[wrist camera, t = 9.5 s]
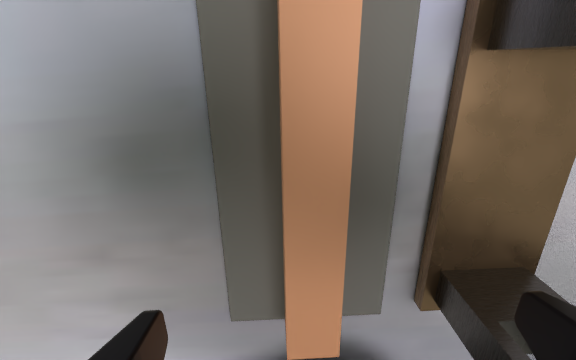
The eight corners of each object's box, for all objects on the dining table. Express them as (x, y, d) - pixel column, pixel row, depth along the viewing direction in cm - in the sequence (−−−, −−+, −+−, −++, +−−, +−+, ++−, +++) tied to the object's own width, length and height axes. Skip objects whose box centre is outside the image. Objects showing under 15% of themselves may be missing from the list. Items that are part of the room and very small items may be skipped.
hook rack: (512, 295, 21) (629, 410, 14) (413, 299, 21) (485, 419, 14) (617, -26, 14) (949, -108, 7) (471, -25, 14) (672, -111, 7)
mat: (377, 307, 21) (380, 313, 20) (232, 314, 21) (231, 321, 20) (419, -38, 14) (426, -42, 13) (194, -38, 13) (191, -42, 13)
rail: (329, 316, 20) (339, 356, 17) (285, 318, 20) (287, 359, 17) (346, -43, 13) (367, -72, 10) (276, -43, 13) (277, -72, 10)
